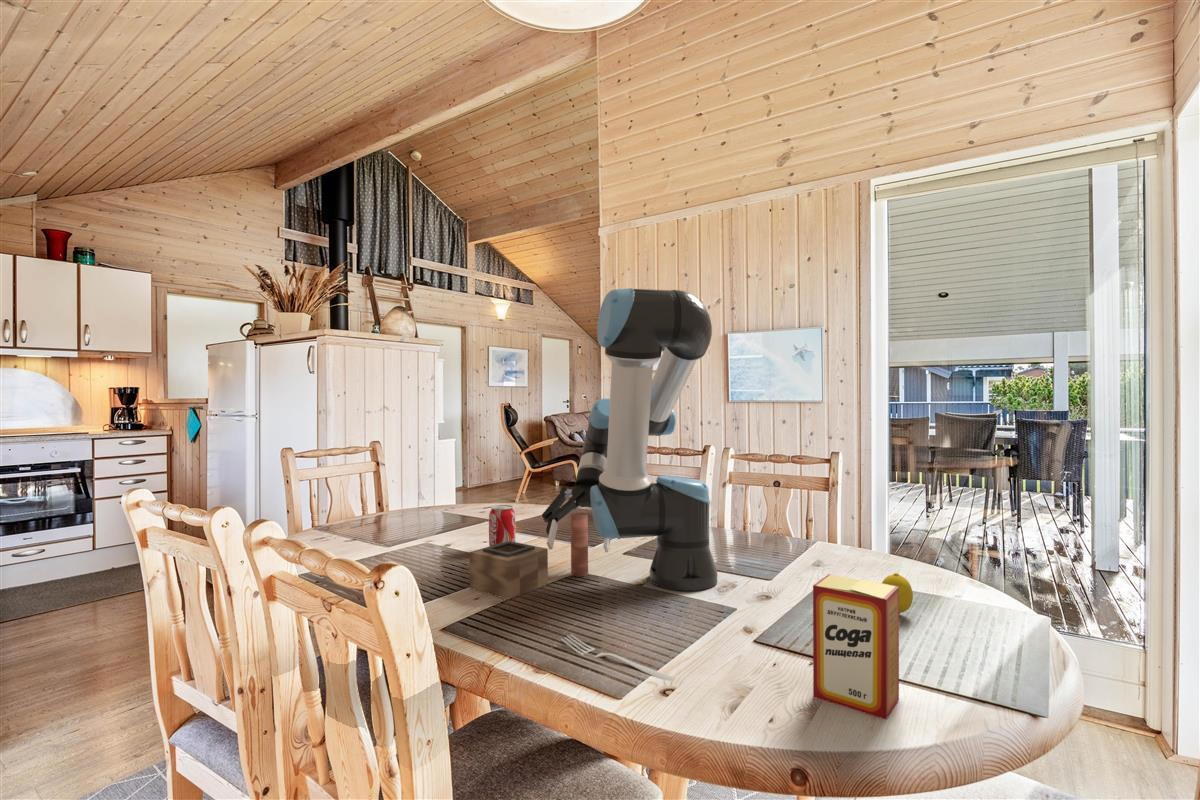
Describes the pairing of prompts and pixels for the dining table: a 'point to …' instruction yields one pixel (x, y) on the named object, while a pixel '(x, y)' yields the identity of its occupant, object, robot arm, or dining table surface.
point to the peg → (579, 544)
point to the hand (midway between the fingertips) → (577, 548)
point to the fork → (637, 666)
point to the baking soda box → (856, 644)
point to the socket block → (508, 569)
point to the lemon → (901, 590)
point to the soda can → (501, 524)
